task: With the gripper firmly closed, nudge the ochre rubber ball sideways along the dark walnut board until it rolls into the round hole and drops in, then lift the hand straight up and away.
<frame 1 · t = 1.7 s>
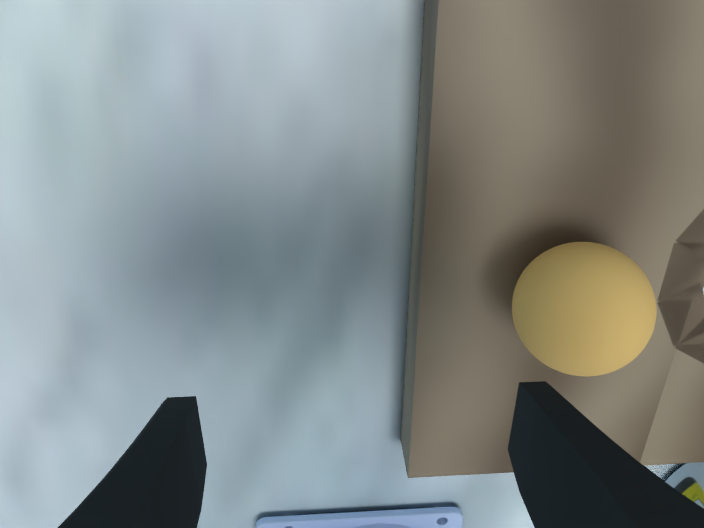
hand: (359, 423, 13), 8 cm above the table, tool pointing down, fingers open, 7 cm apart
ball: (581, 308, 17), point 4 cm above the table, touching deck
deck: (648, 246, 21), on the table
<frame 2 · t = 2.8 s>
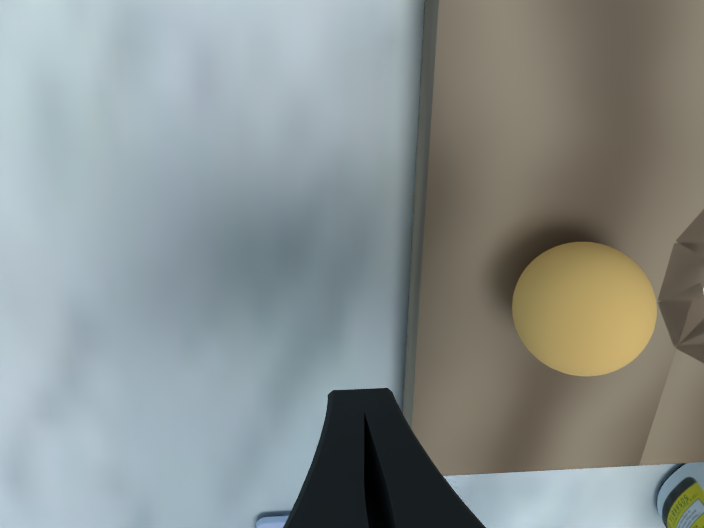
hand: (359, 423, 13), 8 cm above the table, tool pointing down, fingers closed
ball: (581, 308, 17), point 4 cm above the table, touching deck
deck: (648, 246, 21), on the table
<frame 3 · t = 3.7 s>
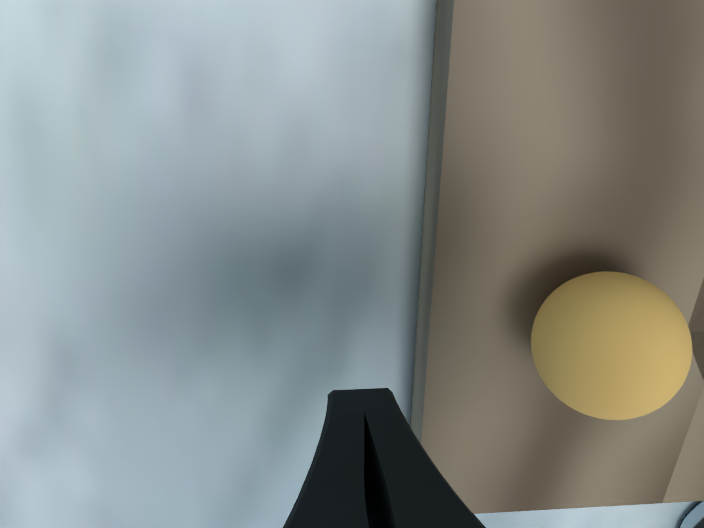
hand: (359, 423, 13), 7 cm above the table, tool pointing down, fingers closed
ball: (607, 344, 16), point 4 cm above the table, touching deck
deck: (674, 270, 19), on the table
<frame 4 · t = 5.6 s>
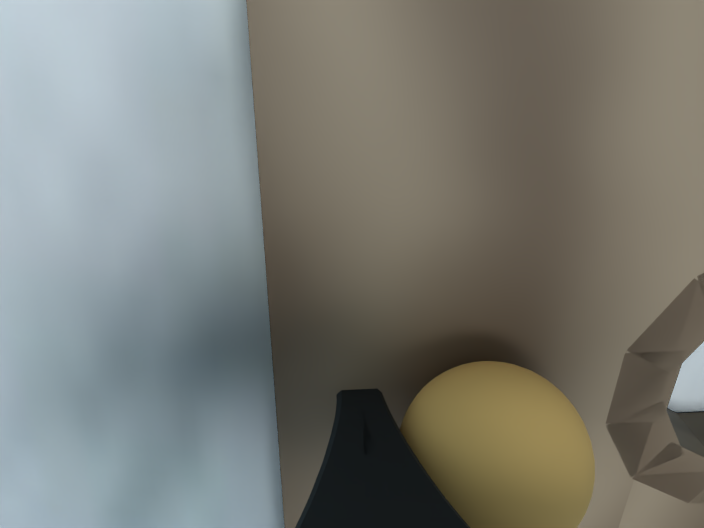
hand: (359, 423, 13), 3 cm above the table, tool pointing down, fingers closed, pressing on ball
ball: (491, 457, 12), point 4 cm above the table, touching deck, gripper
deck: (598, 341, 16), on the table
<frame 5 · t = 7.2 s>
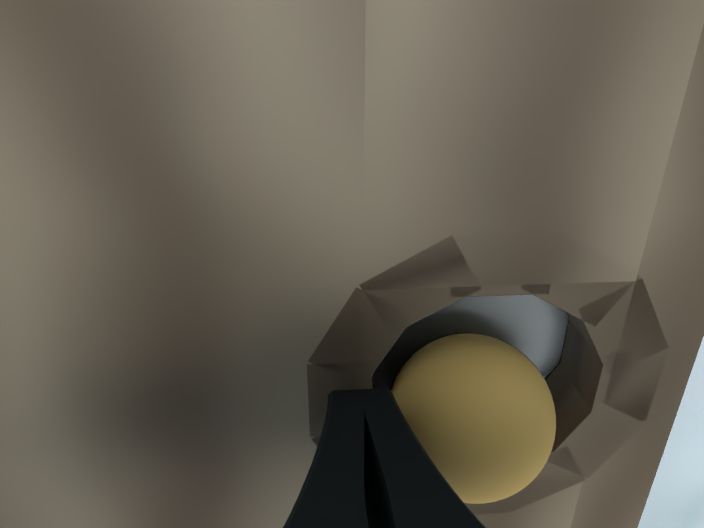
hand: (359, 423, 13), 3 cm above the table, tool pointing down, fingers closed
ball: (469, 415, 14), point 2 cm above the table, tilted 134°
deck: (327, 350, 15), on the table
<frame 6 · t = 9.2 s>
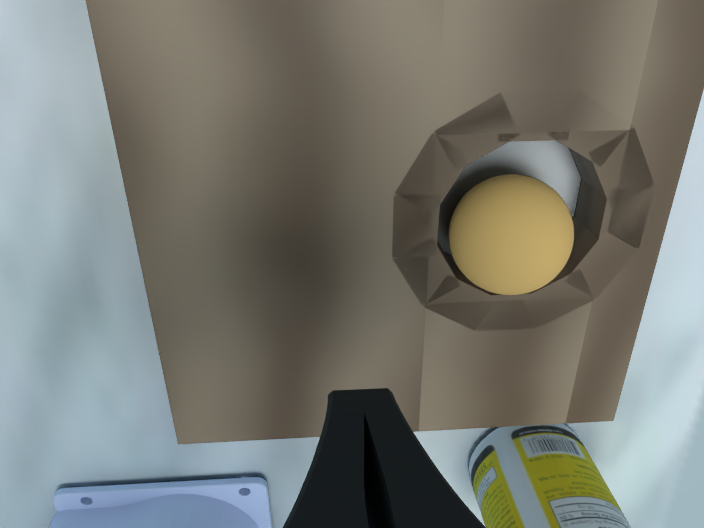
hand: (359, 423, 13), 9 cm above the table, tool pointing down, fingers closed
ball: (509, 234, 19), point 2 cm above the table, tilted 136°
deck: (399, 203, 20), on the table
supplement bottle: (522, 453, 27), on the table
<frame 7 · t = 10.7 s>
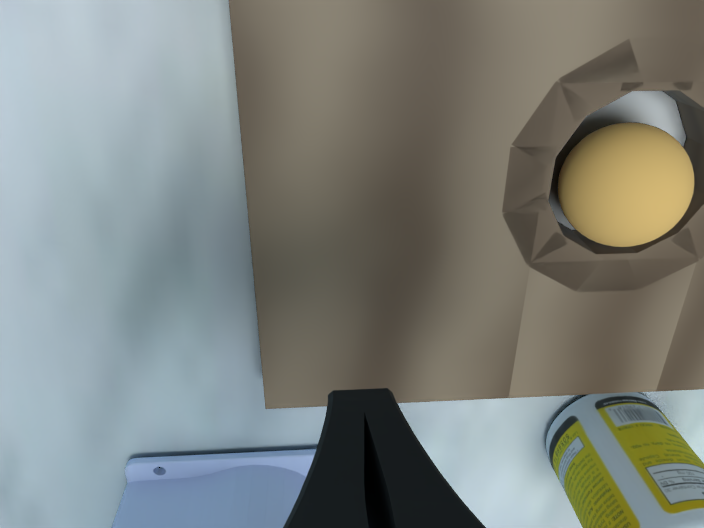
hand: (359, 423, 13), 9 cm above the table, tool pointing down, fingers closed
ball: (622, 185, 19), point 2 cm above the table, tilted 137°
deck: (502, 161, 20), on the table
supplement bottle: (598, 427, 27), on the table
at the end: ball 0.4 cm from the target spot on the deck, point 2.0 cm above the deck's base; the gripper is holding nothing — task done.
